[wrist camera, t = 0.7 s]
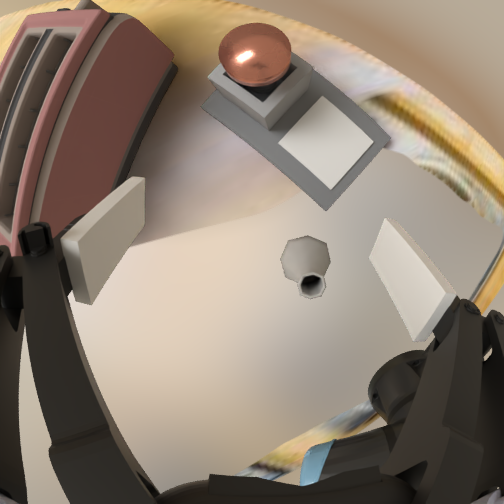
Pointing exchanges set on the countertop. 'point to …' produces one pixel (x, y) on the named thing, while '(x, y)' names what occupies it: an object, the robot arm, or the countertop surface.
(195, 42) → the countertop surface
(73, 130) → the toaster
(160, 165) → the countertop surface
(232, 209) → the countertop surface
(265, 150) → the press
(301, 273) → the flask
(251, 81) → the copper ovoid
